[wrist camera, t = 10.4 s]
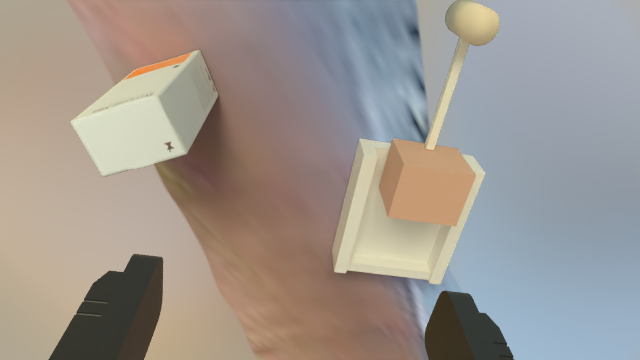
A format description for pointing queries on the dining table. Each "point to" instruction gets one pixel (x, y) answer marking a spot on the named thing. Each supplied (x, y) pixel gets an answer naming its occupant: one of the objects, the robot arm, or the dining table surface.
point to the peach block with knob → (428, 158)
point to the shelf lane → (391, 226)
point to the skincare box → (148, 115)
